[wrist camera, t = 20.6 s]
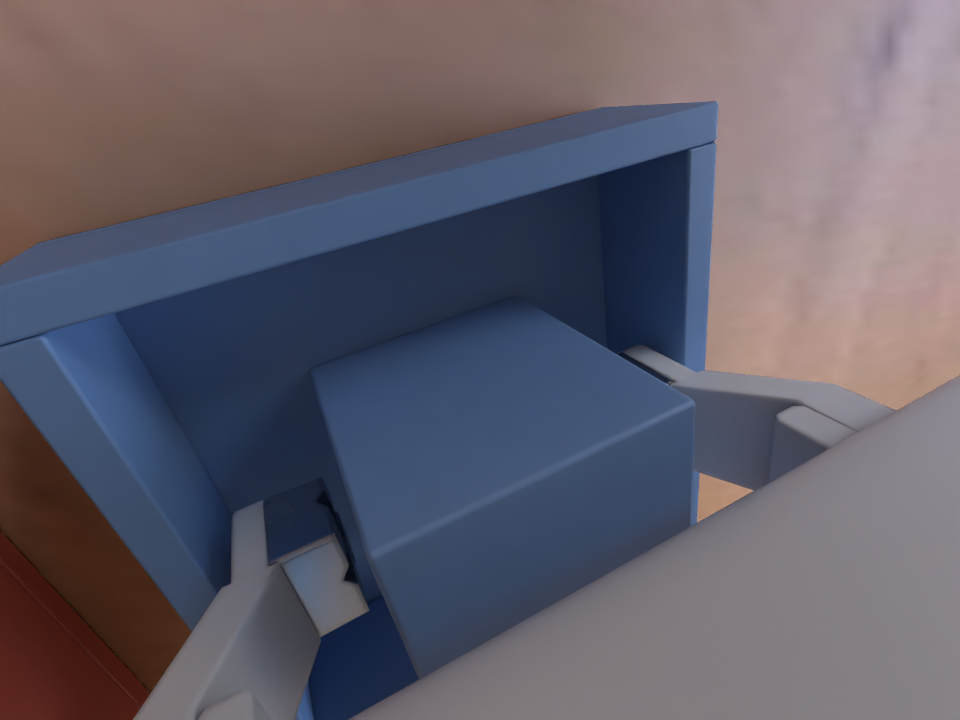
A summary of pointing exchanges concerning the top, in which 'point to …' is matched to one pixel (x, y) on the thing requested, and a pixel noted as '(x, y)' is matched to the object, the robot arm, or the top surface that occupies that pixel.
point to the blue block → (501, 469)
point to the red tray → (54, 654)
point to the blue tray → (339, 327)
